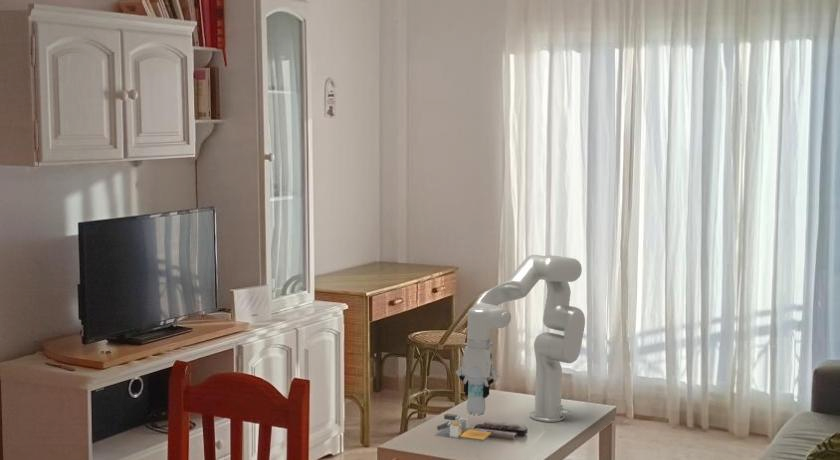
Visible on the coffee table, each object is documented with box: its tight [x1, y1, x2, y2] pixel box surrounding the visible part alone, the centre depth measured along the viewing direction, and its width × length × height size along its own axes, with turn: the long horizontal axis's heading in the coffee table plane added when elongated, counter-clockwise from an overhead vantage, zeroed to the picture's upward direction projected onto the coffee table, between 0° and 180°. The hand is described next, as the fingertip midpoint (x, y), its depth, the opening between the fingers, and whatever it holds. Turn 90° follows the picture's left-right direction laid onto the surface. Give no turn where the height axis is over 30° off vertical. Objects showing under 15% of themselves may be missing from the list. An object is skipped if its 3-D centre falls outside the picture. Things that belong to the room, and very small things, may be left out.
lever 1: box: [436, 421, 453, 432], centre depth 352 cm, size 5×3×1 cm, turn 68°
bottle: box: [466, 367, 486, 417], centre depth 351 cm, size 7×7×20 cm
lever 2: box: [443, 413, 461, 421], centre depth 359 cm, size 5×3×1 cm, turn 69°
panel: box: [434, 416, 493, 443], centre depth 354 cm, size 17×13×6 cm
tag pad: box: [460, 429, 492, 441], centre depth 353 cm, size 8×8×1 cm
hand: (476, 395), depth 351 cm, fingers closed on bottle, 5 cm apart
